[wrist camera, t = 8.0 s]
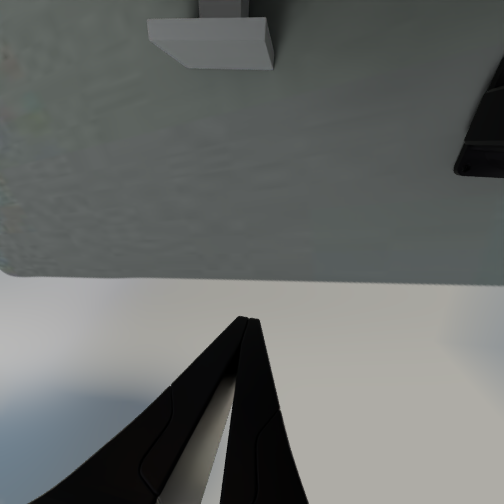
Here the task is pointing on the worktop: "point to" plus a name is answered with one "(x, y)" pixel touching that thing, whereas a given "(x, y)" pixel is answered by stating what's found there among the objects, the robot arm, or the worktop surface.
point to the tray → (216, 37)
